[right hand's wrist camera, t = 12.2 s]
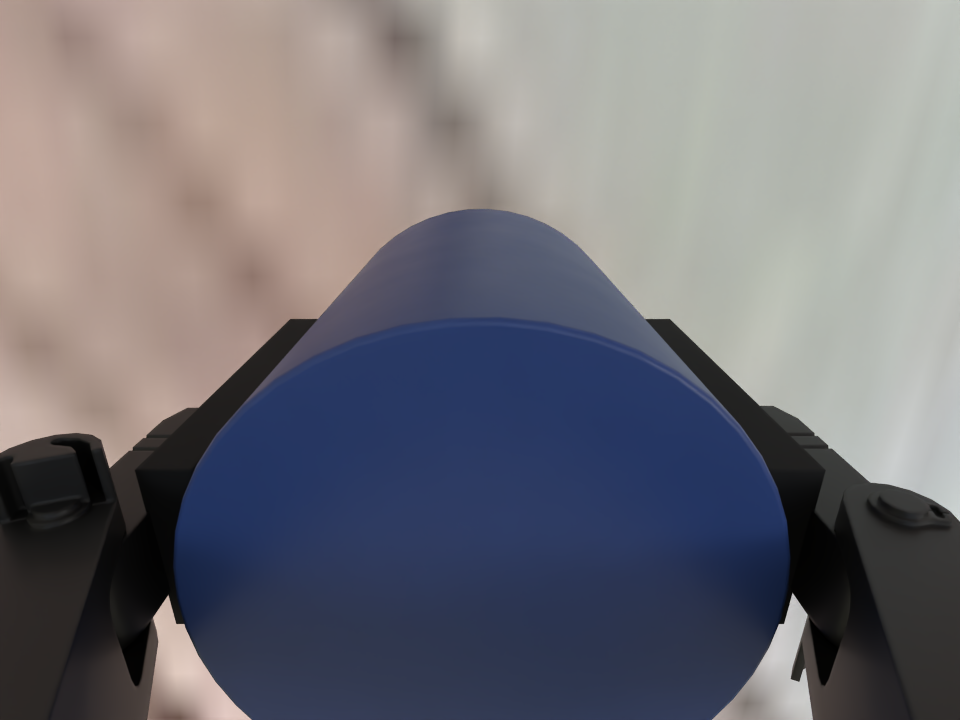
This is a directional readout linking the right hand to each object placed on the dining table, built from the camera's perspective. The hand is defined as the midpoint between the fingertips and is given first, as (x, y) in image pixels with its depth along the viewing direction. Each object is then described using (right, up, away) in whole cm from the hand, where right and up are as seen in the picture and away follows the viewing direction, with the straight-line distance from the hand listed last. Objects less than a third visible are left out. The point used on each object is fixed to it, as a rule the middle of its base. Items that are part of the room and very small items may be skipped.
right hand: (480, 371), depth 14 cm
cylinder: (0, 0, +2) cm, 2 cm away
